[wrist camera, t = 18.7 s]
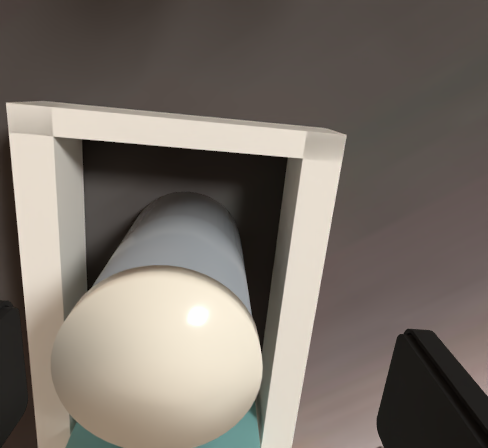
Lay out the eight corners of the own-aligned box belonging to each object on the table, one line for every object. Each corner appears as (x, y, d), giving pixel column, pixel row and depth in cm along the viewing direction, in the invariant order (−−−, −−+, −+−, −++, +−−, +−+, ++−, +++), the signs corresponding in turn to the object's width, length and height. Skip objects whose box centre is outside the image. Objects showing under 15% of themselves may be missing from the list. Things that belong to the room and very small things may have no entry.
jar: (248, 194, 18) (274, 286, 9) (237, 297, 20) (251, 454, 11) (129, 184, 17) (44, 272, 9) (128, 291, 19) (55, 450, 11)
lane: (325, 127, 17) (366, 141, 12) (268, 490, 24) (279, 587, 19) (43, 100, 16) (-30, 104, 11) (67, 488, 23) (29, 590, 18)
